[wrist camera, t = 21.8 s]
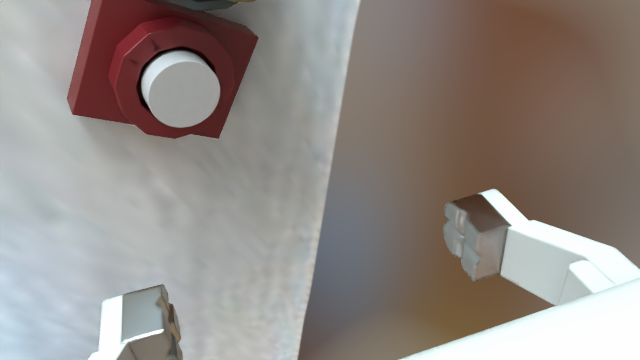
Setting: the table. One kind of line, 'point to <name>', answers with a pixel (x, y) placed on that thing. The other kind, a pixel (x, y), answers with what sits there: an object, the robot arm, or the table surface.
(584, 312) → the robot arm
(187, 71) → the button
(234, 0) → the olive yellow knobbed peg
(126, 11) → the panel
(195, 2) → the cup
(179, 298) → the table surface
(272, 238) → the table surface
